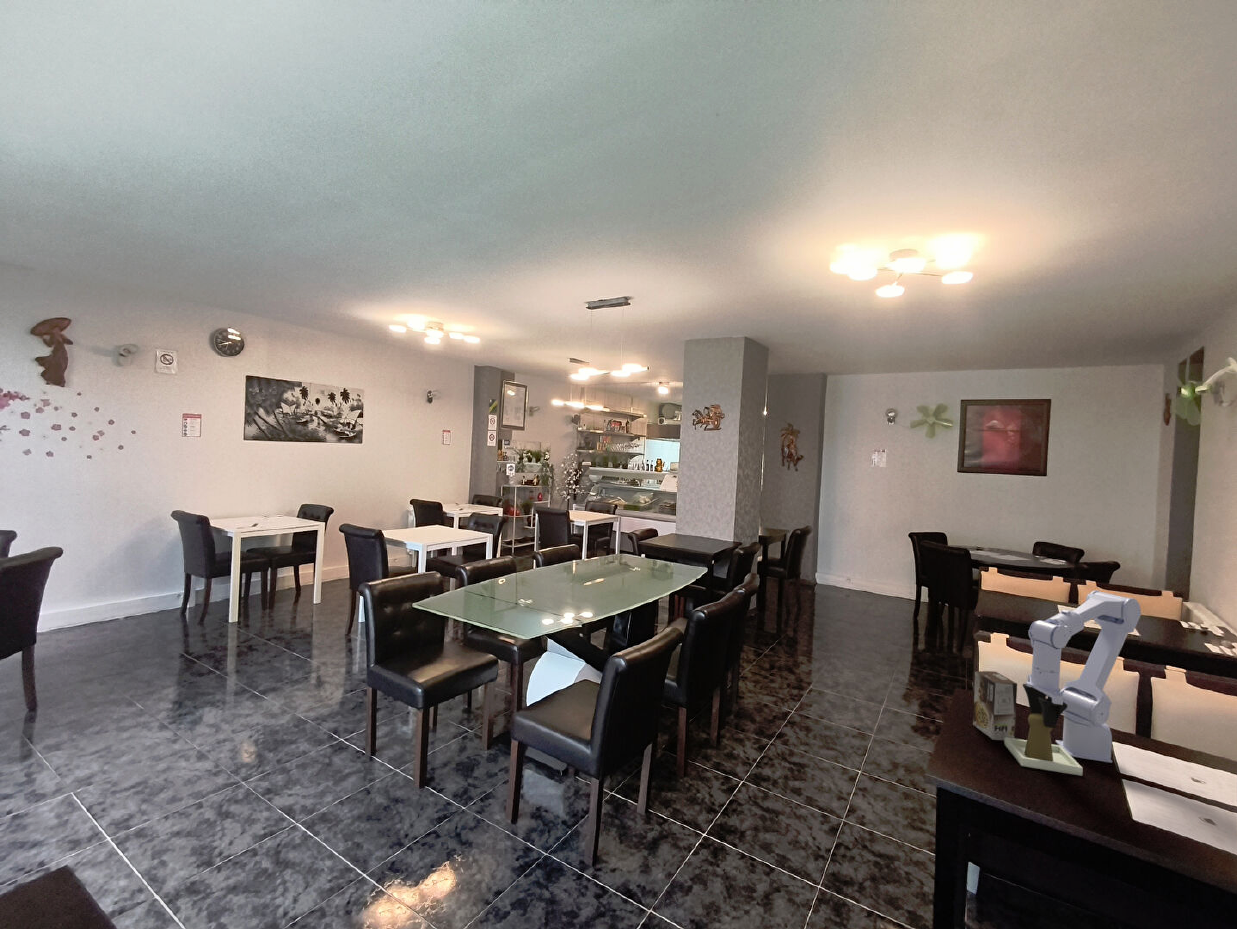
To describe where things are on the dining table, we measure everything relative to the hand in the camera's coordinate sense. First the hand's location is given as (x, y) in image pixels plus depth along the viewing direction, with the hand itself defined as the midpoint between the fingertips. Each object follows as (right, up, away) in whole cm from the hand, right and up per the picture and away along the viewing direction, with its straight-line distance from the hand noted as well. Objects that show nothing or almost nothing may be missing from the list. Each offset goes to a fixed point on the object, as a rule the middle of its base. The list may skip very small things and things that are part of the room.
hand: (1042, 720), depth 143 cm
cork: (-1, -10, 0) cm, 10 cm away
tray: (0, -10, 0) cm, 10 cm away
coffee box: (-3, -10, +14) cm, 17 cm away
